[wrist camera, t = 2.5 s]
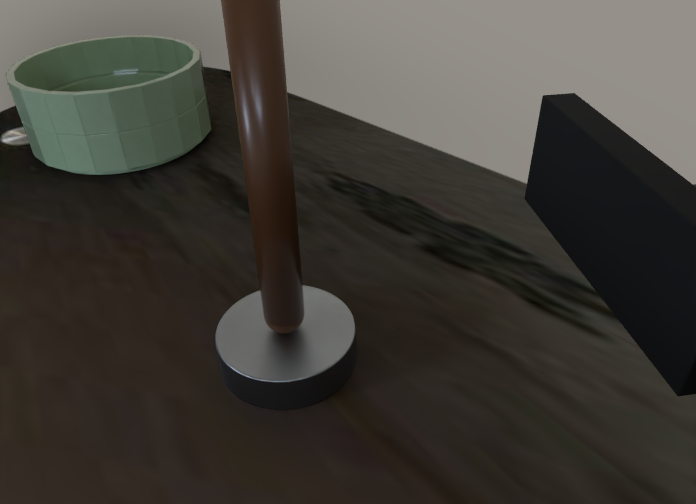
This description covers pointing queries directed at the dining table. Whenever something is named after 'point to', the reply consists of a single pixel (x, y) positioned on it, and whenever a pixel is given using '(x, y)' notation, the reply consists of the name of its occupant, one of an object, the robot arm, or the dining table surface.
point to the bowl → (112, 103)
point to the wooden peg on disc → (275, 240)
